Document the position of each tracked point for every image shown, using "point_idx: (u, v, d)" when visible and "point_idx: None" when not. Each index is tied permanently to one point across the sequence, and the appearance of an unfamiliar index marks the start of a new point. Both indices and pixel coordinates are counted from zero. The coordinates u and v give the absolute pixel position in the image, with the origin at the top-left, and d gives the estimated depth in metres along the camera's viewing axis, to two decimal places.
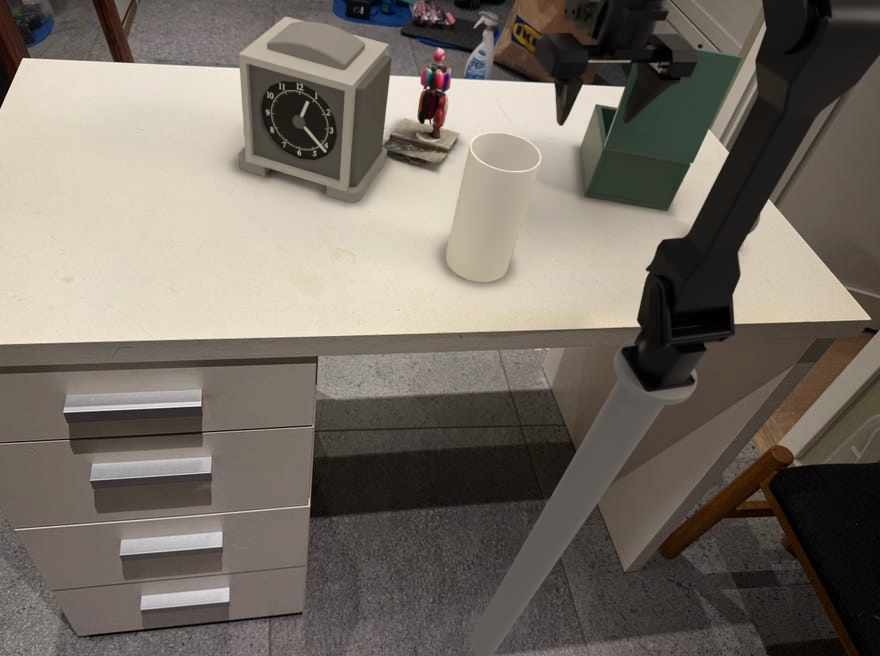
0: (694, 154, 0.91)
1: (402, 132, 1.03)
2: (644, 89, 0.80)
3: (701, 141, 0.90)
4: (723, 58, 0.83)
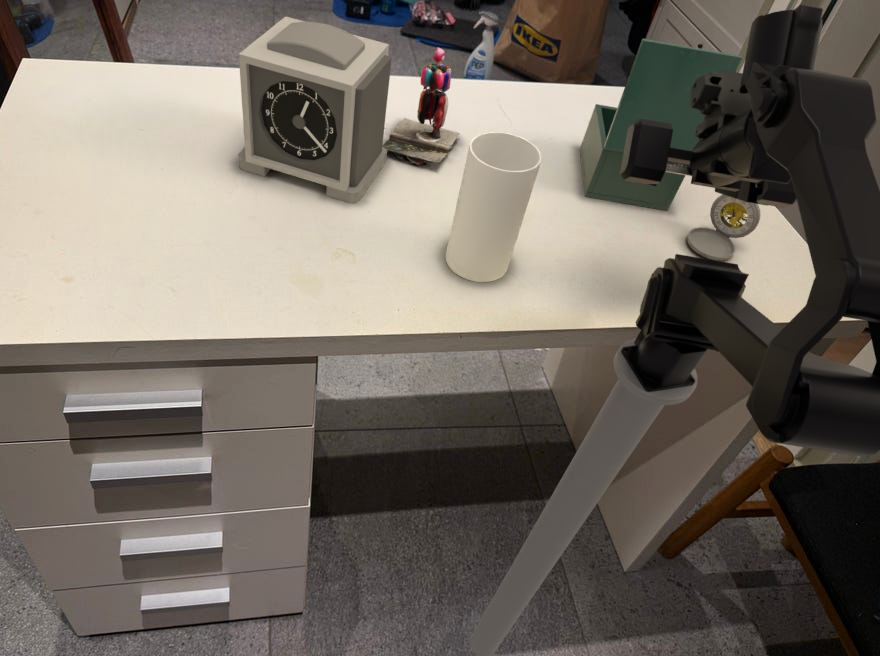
0: None
1: (402, 132, 1.03)
2: None
3: None
4: (723, 58, 0.83)
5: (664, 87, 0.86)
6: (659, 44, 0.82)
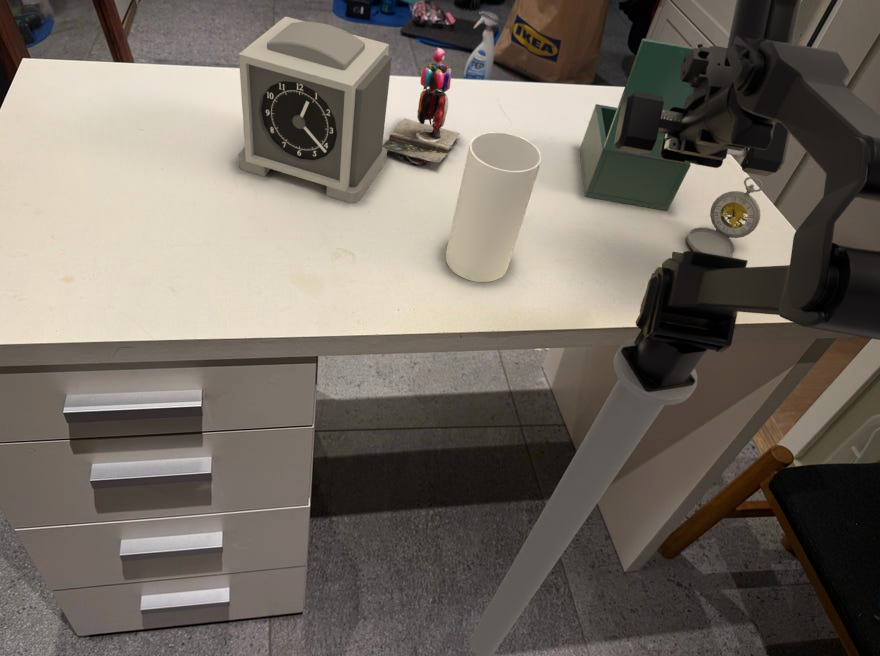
0: None
1: (402, 132, 1.03)
2: None
3: None
4: None
5: (664, 87, 0.86)
6: (659, 44, 0.82)
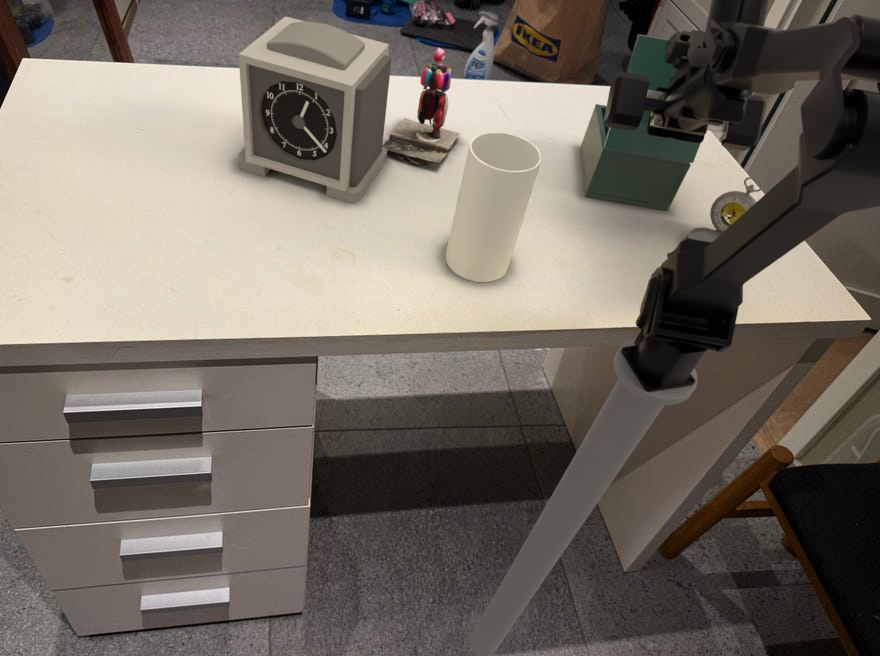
0: (694, 152, 0.91)
1: (402, 132, 1.03)
2: None
3: None
4: None
5: (661, 83, 0.87)
6: (655, 39, 0.85)
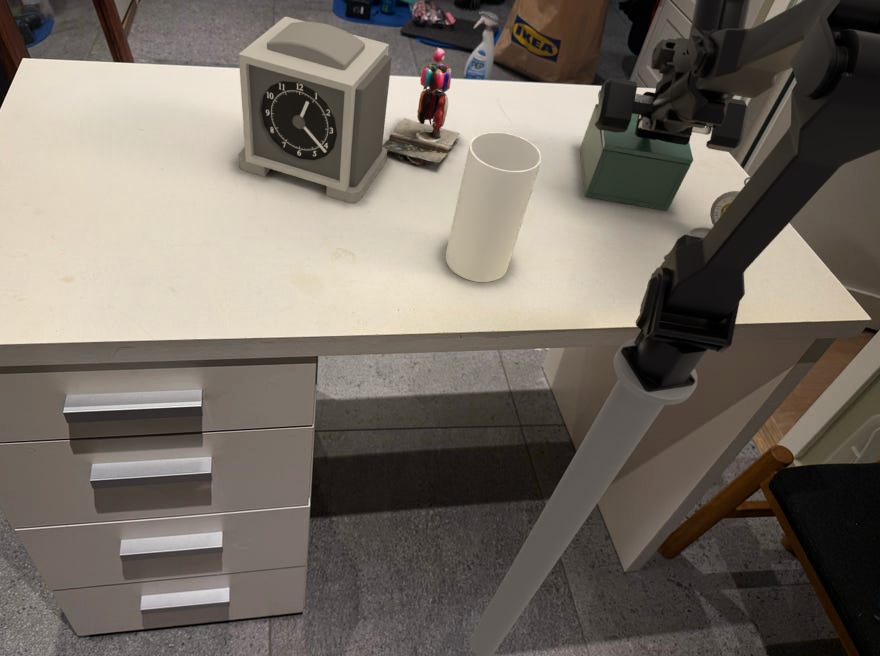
0: (689, 153, 0.93)
1: (402, 132, 1.03)
2: None
3: (688, 145, 0.94)
4: None
5: None
6: None
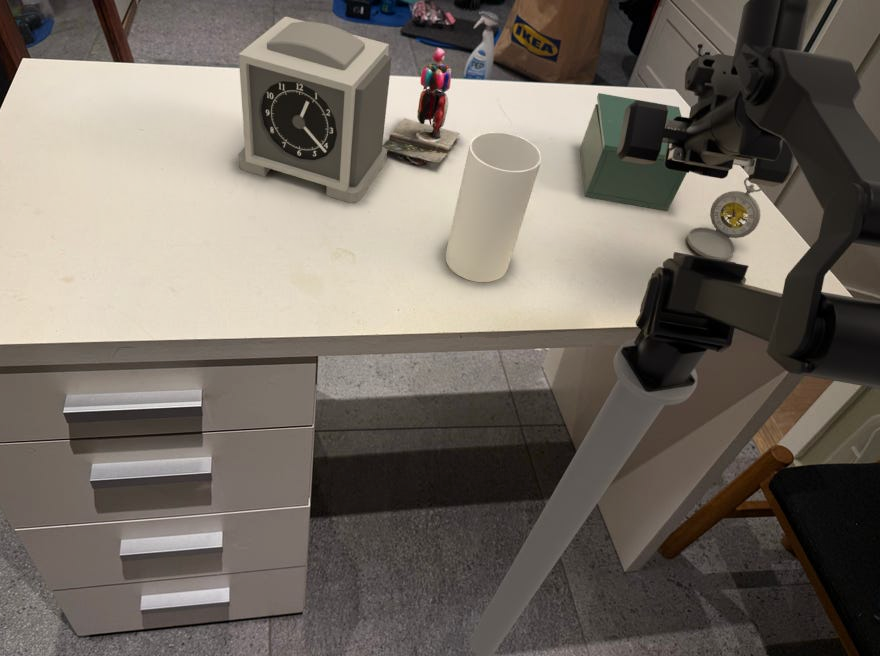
0: None
1: (402, 132, 1.03)
2: None
3: None
4: None
5: None
6: (612, 95, 1.01)
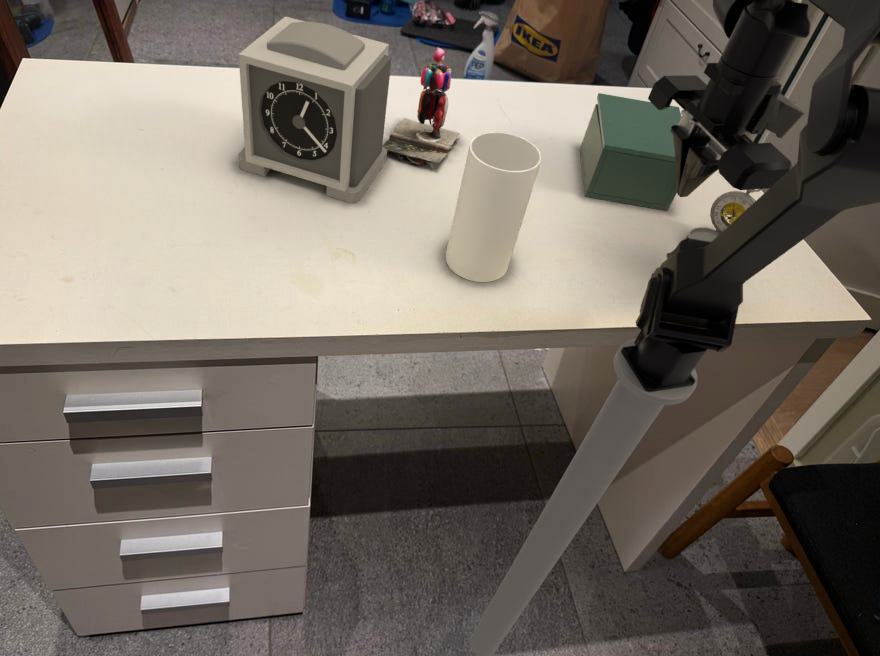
0: None
1: (402, 132, 1.03)
2: None
3: None
4: None
5: (632, 115, 0.98)
6: (612, 95, 1.01)
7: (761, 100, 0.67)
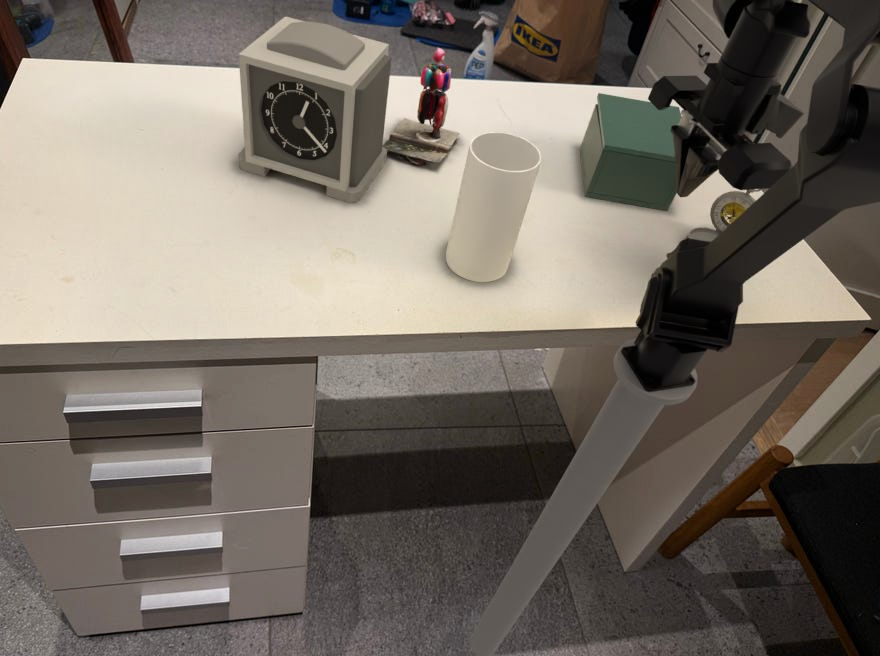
0: None
1: (402, 132, 1.03)
2: None
3: None
4: None
5: (632, 115, 0.98)
6: (612, 95, 1.01)
7: (761, 100, 0.67)
